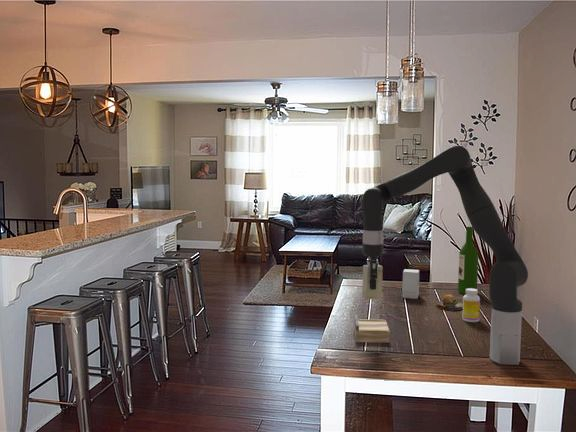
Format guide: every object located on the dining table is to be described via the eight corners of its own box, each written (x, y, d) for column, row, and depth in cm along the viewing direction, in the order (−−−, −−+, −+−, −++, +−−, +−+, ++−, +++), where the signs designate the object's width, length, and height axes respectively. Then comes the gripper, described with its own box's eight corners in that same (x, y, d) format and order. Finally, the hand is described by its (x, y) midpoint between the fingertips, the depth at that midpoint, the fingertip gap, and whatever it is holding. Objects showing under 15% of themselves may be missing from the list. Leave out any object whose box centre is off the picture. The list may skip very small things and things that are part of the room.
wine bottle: (454, 291, 273) (456, 226, 269) (469, 289, 275) (471, 225, 272) (465, 295, 264) (467, 228, 261) (480, 294, 267) (483, 227, 263)
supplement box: (417, 299, 258) (418, 272, 256) (401, 297, 260) (402, 271, 258) (419, 295, 265) (419, 269, 263) (403, 294, 267) (404, 268, 265)
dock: (389, 342, 197) (389, 326, 196) (355, 341, 198) (356, 325, 197) (385, 330, 211) (385, 315, 210) (354, 329, 212) (354, 314, 211)
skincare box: (366, 299, 200) (367, 267, 199) (361, 296, 204) (362, 264, 203) (382, 298, 202) (383, 266, 200) (377, 295, 206) (378, 263, 205)
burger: (469, 309, 241) (470, 293, 240) (447, 312, 237) (448, 295, 236) (452, 302, 252) (452, 287, 251) (430, 305, 248) (431, 289, 247)
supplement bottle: (480, 323, 220) (481, 291, 219) (463, 322, 221) (464, 291, 220) (478, 318, 227) (479, 288, 225) (461, 317, 228) (462, 287, 227)
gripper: (385, 245, 193) (384, 292, 195) (381, 239, 208) (380, 283, 209) (363, 245, 194) (363, 292, 196) (361, 239, 208) (361, 282, 210)
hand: (372, 287), depth 203 cm, fingers closed on skincare box, 5 cm apart
